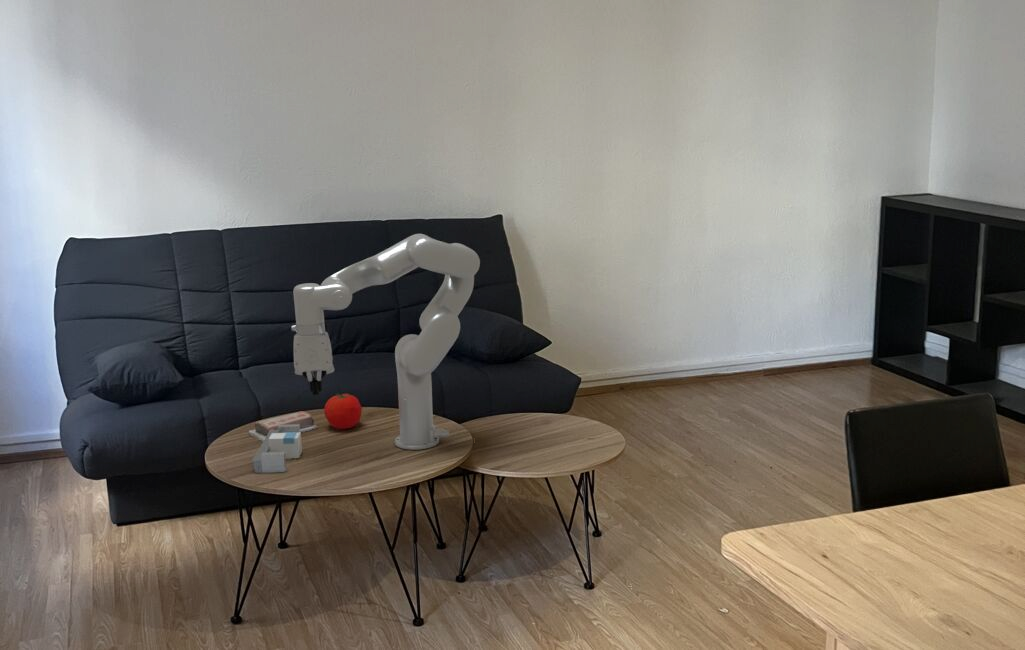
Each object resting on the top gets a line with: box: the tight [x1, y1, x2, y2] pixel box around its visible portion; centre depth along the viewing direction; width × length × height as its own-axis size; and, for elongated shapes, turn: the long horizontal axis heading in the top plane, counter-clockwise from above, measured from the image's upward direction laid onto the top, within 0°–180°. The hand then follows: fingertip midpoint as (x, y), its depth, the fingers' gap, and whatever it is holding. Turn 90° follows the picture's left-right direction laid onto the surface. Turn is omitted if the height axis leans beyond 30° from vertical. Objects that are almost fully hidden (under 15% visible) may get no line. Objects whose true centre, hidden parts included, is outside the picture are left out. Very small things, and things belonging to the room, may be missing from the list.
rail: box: [251, 424, 300, 474], centre depth 301 cm, size 9×26×5 cm, turn 2°
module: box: [269, 432, 303, 460], centre depth 301 cm, size 8×5×6 cm, turn 92°
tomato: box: [323, 392, 363, 430], centre depth 325 cm, size 11×13×10 cm
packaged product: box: [247, 410, 319, 442], centre depth 323 cm, size 18×5×10 cm
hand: (316, 393), depth 298 cm, fingers closed
